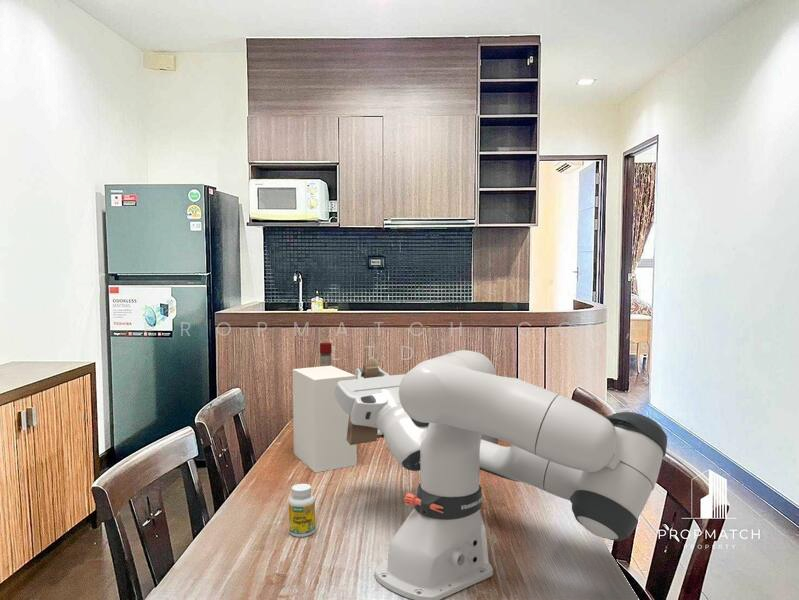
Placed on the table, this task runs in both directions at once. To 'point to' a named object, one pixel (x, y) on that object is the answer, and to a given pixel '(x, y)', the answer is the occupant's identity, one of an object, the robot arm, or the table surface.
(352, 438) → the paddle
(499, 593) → the table surface
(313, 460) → the stand
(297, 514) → the supplement bottle
